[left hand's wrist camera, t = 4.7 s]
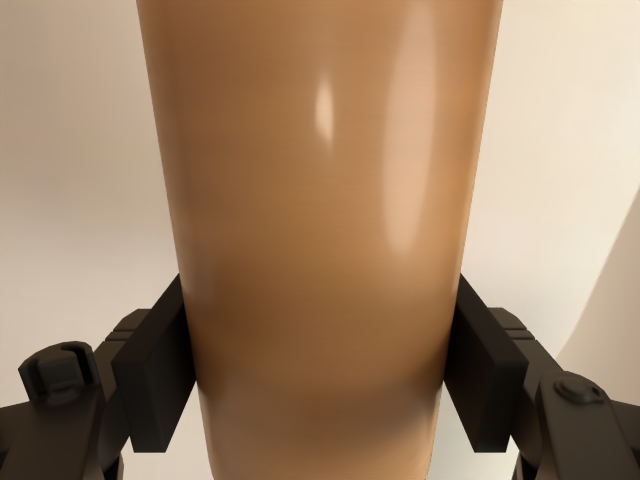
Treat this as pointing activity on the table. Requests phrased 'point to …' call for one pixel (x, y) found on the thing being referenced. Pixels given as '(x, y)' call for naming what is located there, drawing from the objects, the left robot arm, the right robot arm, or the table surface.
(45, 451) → the left robot arm
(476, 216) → the table surface
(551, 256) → the table surface
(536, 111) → the table surface
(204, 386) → the rod
